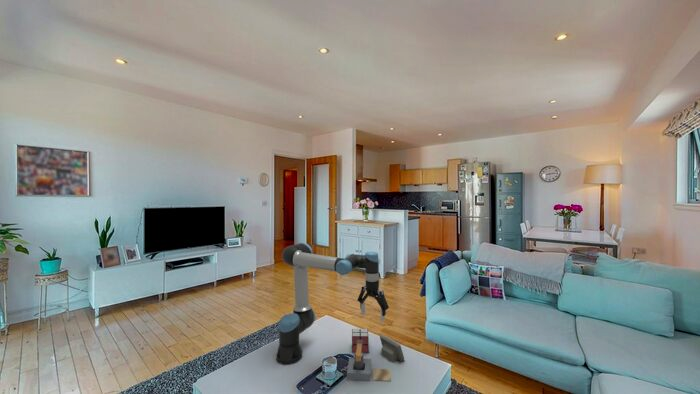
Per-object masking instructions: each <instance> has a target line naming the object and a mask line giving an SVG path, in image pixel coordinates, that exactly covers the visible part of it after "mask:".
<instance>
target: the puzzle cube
mask: <svg viewBox="0 0 700 394" xmlns="http://www.w3.org/2000/svg"><path fill="white" fill-rule="evenodd" d="M357 340H363V348H362V354H367V353H368V354H369V353H370V351H369V349H370V347H369V343H370V342H369V330H368V328H352V329H351V342H352V343H351V353H353V354H356V350H357Z"/></svg>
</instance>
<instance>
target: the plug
mask: <svg viewBox="0 0 700 394" xmlns="http://www.w3.org/2000/svg"><path fill="white" fill-rule="evenodd" d="M354 358H355V369H354V370H364V358H365V357H364V353H361V361H356V353H354Z"/></svg>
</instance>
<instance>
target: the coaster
mask: <svg viewBox="0 0 700 394" xmlns="http://www.w3.org/2000/svg"><path fill="white" fill-rule="evenodd" d="M372 376H373V377H372V381H374V382H379V381H380V382H392V379H391V377H392V376H391V369H387V368H385V369H383V368H373V372H372Z"/></svg>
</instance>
